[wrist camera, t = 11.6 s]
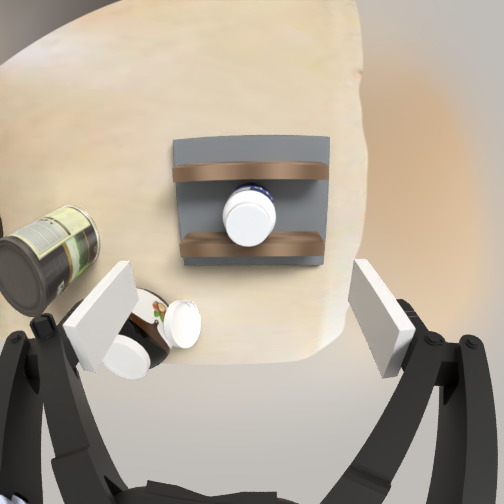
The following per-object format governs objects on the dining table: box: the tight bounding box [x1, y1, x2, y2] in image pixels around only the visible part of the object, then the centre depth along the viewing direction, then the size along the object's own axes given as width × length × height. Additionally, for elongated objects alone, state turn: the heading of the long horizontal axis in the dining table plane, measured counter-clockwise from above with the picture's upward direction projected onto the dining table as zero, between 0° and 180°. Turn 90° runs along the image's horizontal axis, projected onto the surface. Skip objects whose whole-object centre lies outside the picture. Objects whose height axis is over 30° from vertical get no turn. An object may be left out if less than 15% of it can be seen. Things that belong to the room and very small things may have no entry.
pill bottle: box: [223, 182, 276, 247], centre depth 29 cm, size 5×5×9 cm
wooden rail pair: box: [173, 161, 329, 257], centre depth 32 cm, size 16×10×4 cm, turn 91°
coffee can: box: [0, 205, 100, 317], centre depth 31 cm, size 10×10×14 cm
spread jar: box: [102, 288, 201, 380], centre depth 36 cm, size 12×11×12 cm
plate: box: [173, 135, 330, 265], centre depth 34 cm, size 18×16×1 cm
